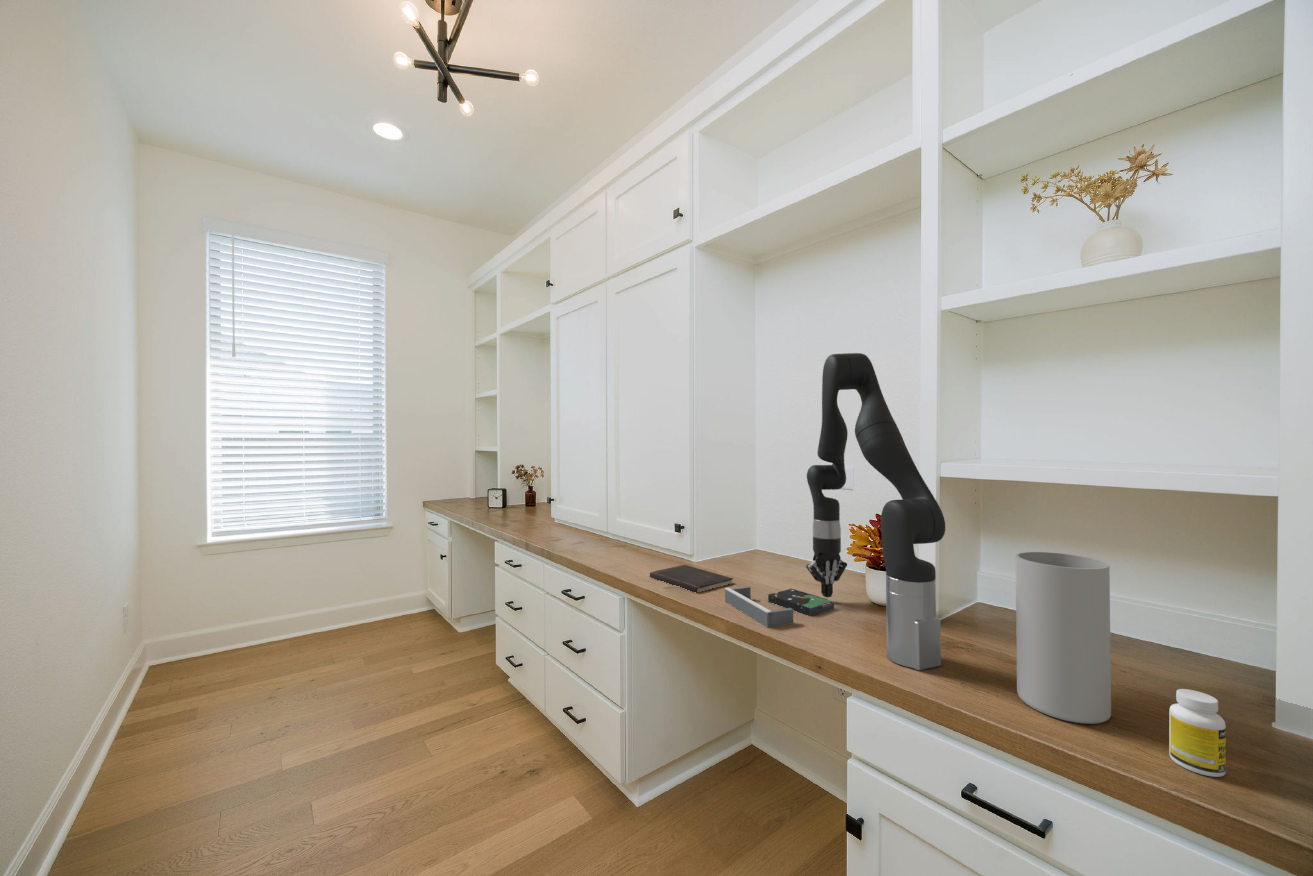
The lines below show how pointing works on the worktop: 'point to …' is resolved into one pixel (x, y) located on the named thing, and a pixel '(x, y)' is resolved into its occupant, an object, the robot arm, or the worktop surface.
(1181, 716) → the supplement bottle
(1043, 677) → the cylinder vase
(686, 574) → the hardcover book
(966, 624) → the worktop surface
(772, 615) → the dock
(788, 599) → the disk drive
